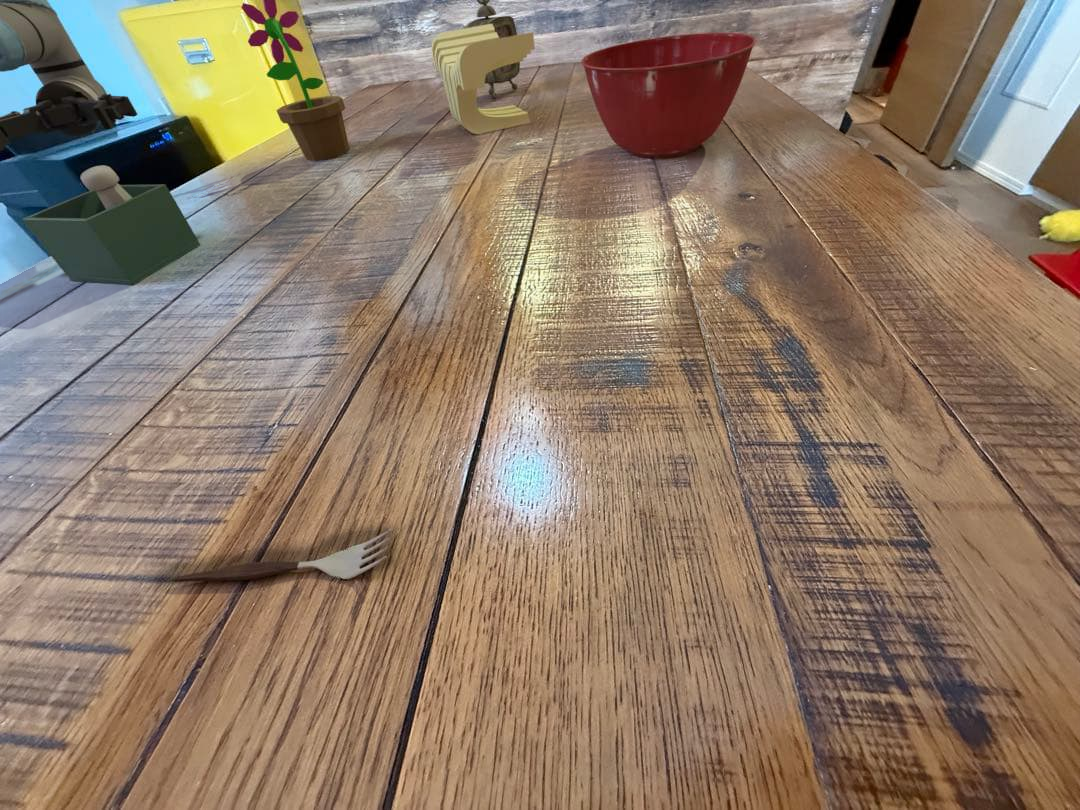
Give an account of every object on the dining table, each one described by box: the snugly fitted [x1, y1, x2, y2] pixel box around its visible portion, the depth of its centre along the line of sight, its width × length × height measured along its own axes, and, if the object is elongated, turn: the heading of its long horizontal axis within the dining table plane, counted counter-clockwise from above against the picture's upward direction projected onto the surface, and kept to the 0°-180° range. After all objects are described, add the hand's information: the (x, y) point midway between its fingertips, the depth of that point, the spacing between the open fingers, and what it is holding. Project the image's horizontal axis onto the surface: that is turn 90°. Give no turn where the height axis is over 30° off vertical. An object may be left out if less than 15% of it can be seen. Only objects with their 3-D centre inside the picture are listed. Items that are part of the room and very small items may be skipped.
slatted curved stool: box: [430, 24, 536, 135], centre depth 117 cm, size 30×16×18 cm, turn 20°
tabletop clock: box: [463, 0, 521, 101], centre depth 138 cm, size 14×9×25 cm, turn 149°
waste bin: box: [21, 183, 201, 286], centre depth 79 cm, size 13×13×10 cm
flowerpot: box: [241, 0, 350, 162], centre depth 109 cm, size 14×14×30 cm
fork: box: [171, 528, 393, 583], centre depth 35 cm, size 3×16×2 cm, turn 93°
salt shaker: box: [79, 164, 132, 210], centre depth 77 cm, size 6×6×13 cm
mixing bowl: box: [580, 32, 757, 159], centre depth 90 cm, size 28×28×16 cm
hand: (46, 130), depth 69 cm, fingers open, 13 cm apart
